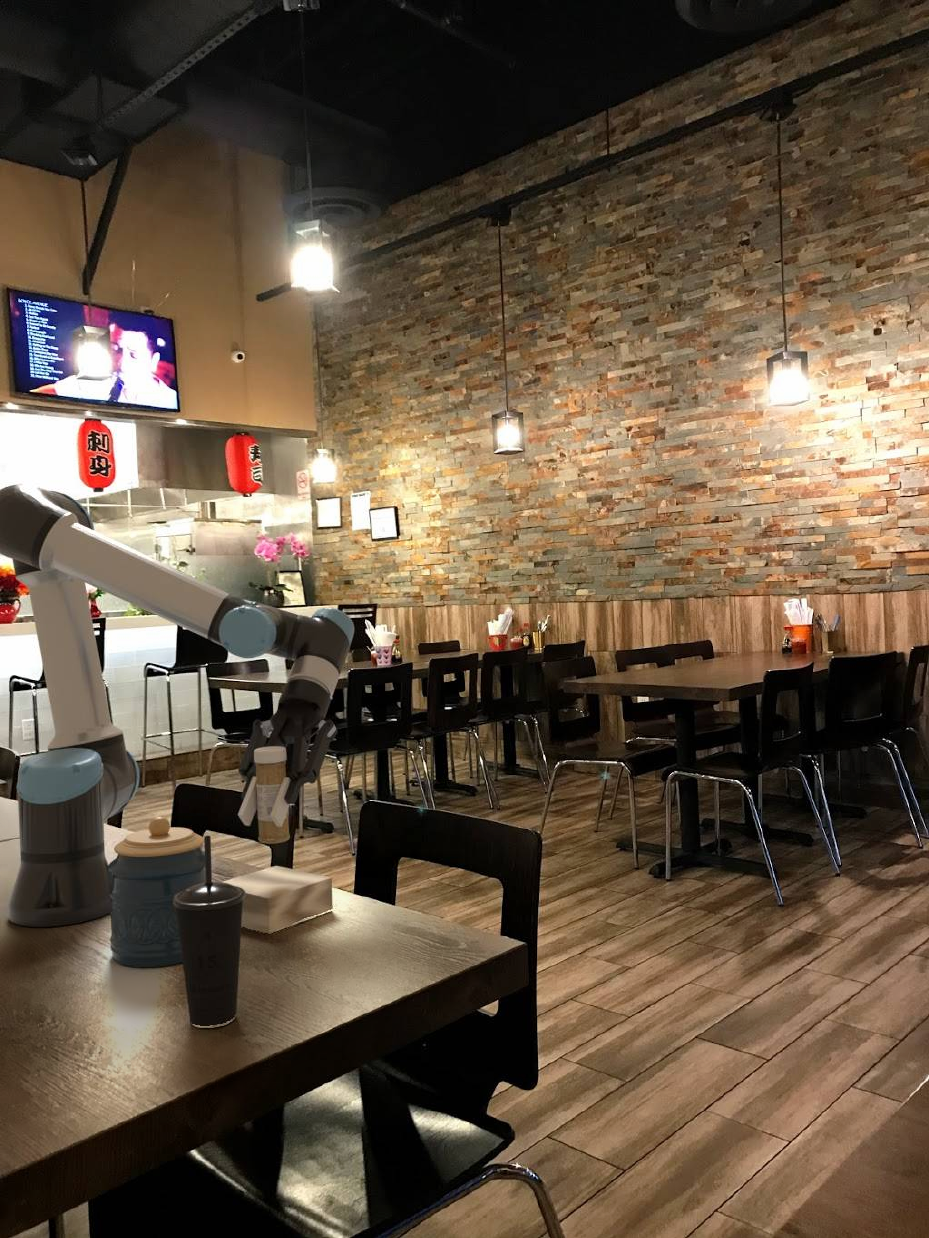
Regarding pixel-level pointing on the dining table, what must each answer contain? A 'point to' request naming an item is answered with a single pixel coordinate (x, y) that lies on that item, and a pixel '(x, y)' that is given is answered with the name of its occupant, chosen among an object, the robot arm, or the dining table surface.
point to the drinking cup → (210, 946)
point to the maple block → (282, 897)
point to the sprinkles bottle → (270, 792)
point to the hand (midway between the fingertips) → (259, 820)
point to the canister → (152, 892)
